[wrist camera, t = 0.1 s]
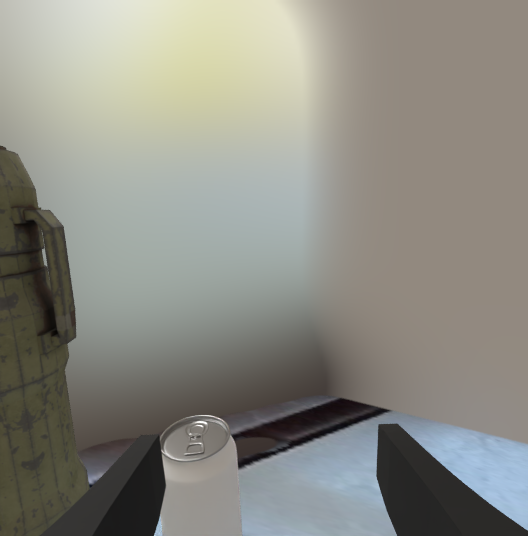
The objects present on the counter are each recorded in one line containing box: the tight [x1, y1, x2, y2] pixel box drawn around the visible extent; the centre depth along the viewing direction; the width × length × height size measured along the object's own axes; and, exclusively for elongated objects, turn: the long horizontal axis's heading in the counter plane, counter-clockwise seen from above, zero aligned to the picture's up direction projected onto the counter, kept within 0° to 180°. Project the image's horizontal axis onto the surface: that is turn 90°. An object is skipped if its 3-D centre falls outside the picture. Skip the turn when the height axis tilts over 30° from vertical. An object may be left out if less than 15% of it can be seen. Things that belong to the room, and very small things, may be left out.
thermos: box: [0, 146, 89, 536], centre depth 27 cm, size 9×12×35 cm
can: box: [160, 415, 242, 536], centre depth 28 cm, size 6×6×12 cm
